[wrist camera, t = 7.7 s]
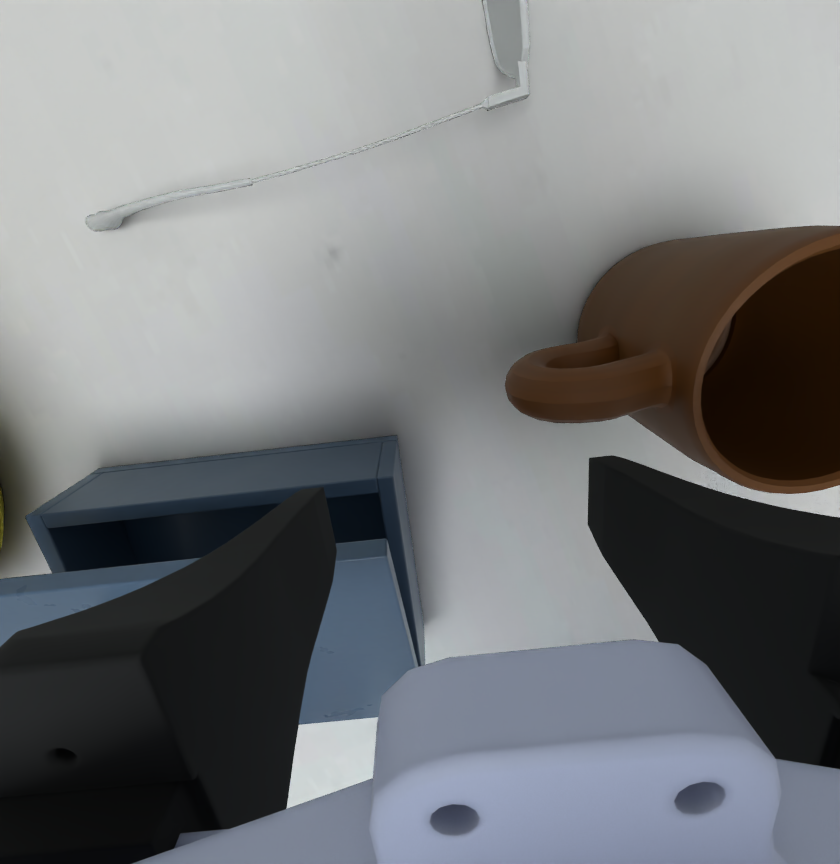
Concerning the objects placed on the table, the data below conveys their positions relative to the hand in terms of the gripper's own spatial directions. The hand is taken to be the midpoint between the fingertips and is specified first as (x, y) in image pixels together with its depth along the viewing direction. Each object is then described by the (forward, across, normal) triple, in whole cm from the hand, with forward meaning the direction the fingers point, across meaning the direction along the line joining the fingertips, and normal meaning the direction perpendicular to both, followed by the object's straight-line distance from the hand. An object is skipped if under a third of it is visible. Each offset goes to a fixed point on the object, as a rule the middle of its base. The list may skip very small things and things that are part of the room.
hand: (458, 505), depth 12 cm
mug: (+11, -8, -2) cm, 14 cm away
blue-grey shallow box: (+10, +10, +8) cm, 16 cm away
